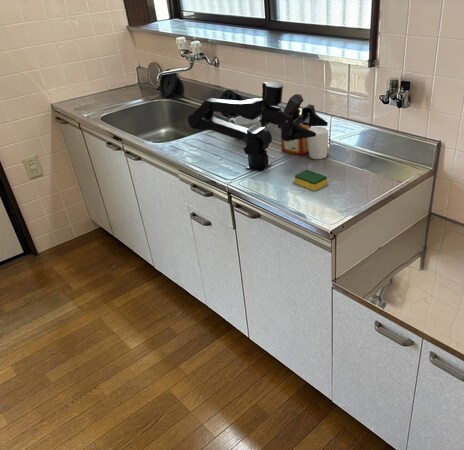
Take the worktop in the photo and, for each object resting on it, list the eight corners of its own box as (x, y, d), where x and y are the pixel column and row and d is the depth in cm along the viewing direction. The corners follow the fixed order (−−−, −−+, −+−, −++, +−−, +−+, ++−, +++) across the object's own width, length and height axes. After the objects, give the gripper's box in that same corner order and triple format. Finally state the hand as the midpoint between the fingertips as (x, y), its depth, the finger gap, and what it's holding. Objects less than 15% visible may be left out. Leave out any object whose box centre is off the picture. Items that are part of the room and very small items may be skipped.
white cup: (327, 160, 173) (326, 134, 168) (306, 159, 175) (305, 133, 169) (329, 152, 180) (329, 126, 174) (309, 151, 181) (308, 126, 176)
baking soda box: (282, 151, 183) (279, 110, 175) (292, 145, 188) (290, 106, 180) (301, 155, 178) (300, 114, 170) (311, 150, 182) (310, 109, 174)
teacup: (266, 134, 200) (264, 116, 196) (251, 142, 193) (249, 123, 189) (240, 130, 207) (238, 112, 203) (224, 138, 200) (222, 119, 195)
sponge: (294, 183, 158) (294, 175, 156) (307, 177, 161) (307, 169, 160) (314, 191, 152) (314, 182, 150) (327, 184, 155) (326, 176, 154)
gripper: (266, 103, 145) (312, 116, 140) (294, 84, 159) (336, 96, 154) (264, 135, 152) (308, 149, 147) (291, 115, 166) (331, 127, 160)
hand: (321, 129), depth 152 cm, fingers open, 9 cm apart
